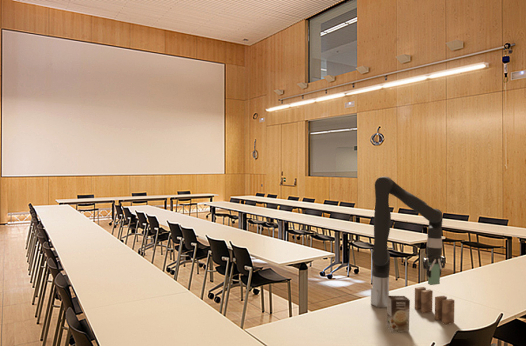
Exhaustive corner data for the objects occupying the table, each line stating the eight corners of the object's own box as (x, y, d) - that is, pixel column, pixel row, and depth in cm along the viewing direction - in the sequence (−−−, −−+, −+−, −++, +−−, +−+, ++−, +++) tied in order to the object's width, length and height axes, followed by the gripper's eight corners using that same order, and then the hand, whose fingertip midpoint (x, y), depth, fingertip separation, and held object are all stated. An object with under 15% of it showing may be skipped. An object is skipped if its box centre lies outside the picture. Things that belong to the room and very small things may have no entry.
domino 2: (423, 313, 204) (423, 291, 204) (421, 312, 206) (421, 290, 206) (432, 312, 206) (432, 290, 206) (429, 310, 208) (429, 289, 208)
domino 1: (417, 309, 209) (417, 288, 209) (414, 308, 211) (414, 287, 211) (425, 308, 211) (425, 287, 211) (423, 307, 213) (423, 286, 213)
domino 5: (445, 324, 190) (445, 301, 190) (442, 322, 192) (442, 300, 192) (454, 322, 192) (454, 300, 192) (451, 321, 194) (451, 298, 194)
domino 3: (430, 285, 199) (431, 263, 199) (428, 284, 201) (428, 262, 201) (439, 284, 201) (440, 262, 201) (436, 282, 203) (437, 261, 203)
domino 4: (437, 320, 195) (437, 298, 195) (434, 319, 197) (435, 296, 196) (446, 319, 197) (446, 296, 196) (443, 317, 199) (443, 295, 198)
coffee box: (391, 332, 181) (391, 300, 180) (386, 326, 187) (386, 295, 187) (409, 332, 181) (410, 299, 181) (404, 326, 188) (404, 295, 187)
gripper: (439, 243, 206) (439, 273, 207) (418, 245, 202) (418, 275, 202) (450, 246, 199) (449, 277, 200) (428, 248, 195) (428, 279, 195)
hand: (433, 276), depth 201 cm, fingers closed on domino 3, 6 cm apart
